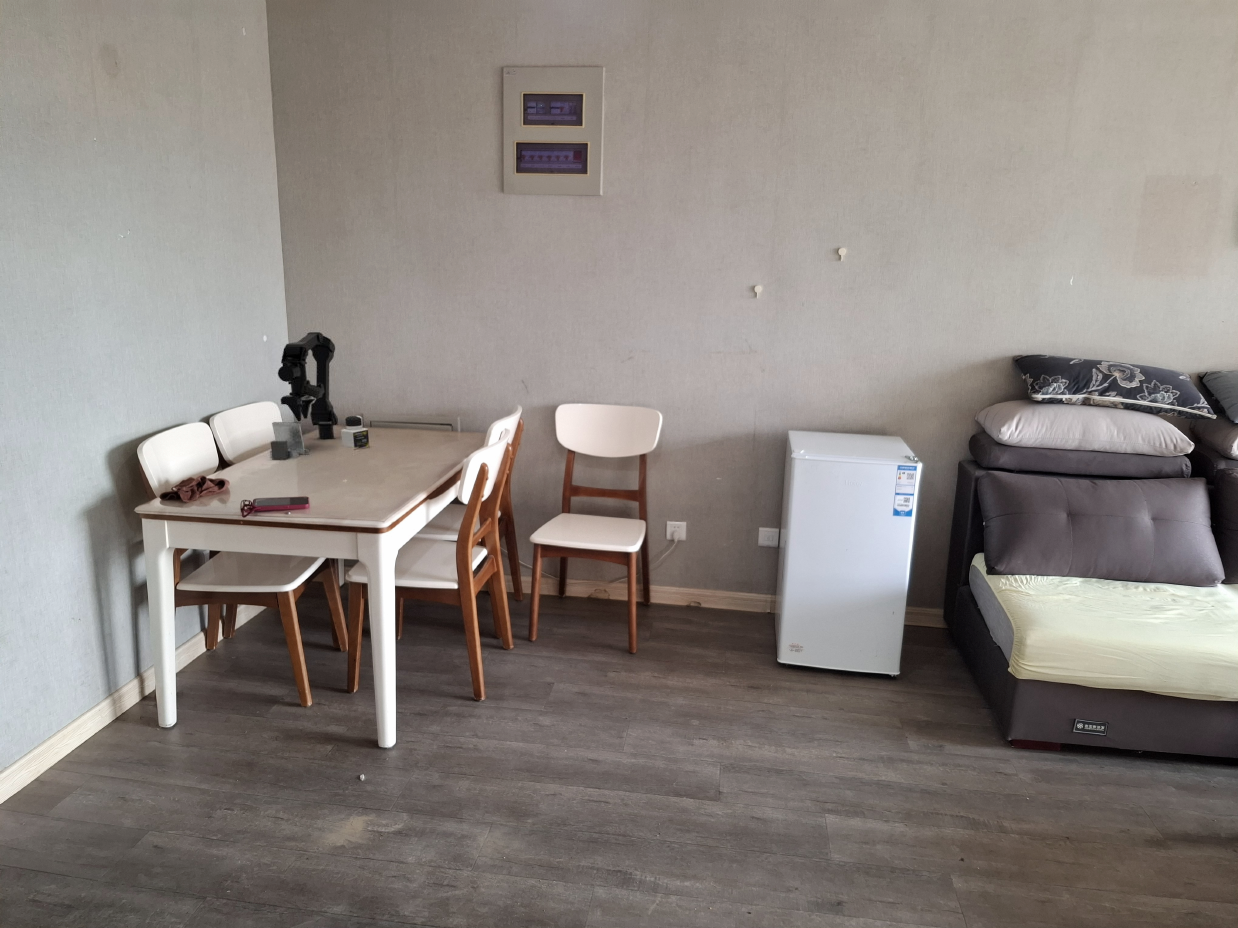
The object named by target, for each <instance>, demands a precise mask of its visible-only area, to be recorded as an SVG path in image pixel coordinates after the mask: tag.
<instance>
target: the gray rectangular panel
mask: <svg viewBox="0 0 1238 928" xmlns="http://www.w3.org/2000/svg"><path fill="white" fill-rule="evenodd" d="M271 425H272V430H273V435H274V441H287V447H288V449H298V455H305V452H304V450H306V448H305V444H304V438H303V434H302V428H301V421H273V422H271Z"/></svg>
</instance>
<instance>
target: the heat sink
mask: <svg viewBox="0 0 1238 928" xmlns="http://www.w3.org/2000/svg"><path fill="white" fill-rule="evenodd" d="M304 452H305V454H304V455H307V456H308V455H310V450H309V449H305V450H304ZM299 455H300V454H298V449H288V447H287V441H275V440H272V441H270V450H269V456H270V459H272V461H288V460H289V459H297V458H299Z"/></svg>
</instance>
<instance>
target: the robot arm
mask: <svg viewBox="0 0 1238 928" xmlns="http://www.w3.org/2000/svg"><path fill="white" fill-rule="evenodd" d="M309 351H311V354H312V357H313V359H314V361H315V363H316V371H315V372H316V376H315V378H316V384H311V381H310V380H309V379H308V377H307V375H308V374H307V364H308V363H307V358H308V356H309ZM335 352H336V345H335V343H334V342H333V340H332V339H331V338H329V337H327V336H325V335H324V334H323V333H322V332H319V331H310V332H307V334H306V335H305V336H303V337H302V338H300V340H297V341H296V342H295V341H294V342H289V343H286V344H285V346H284V348H283V351H282V354H281V355H282V356H281V359H280V360H281V362H280V364H282V366H280V368H278V372H277V376H278V378H279V379H280V381H282V382H286V383H288V385H290V389H291V392H288V393H289V394H287V395H283V396H282V397H281V398H280V405H286V406H287V407H288V408H289V410H290V411H291V412H292V414H293V415H294V417H295V418H296V421H297V422H302V418H303V419H304V420H307V419H308V417H309V416H310V419H311V423H312V426H317V429H318V431H317V432H318V437H317V438H316V439H317V440H326V441H327V440H337V438H336V437H335V433H334V432H335V431H334V426H336V425H337V426H338V423H339V418H338V416H337V415H336V413H335V410H334V405H333V404H332V402H331V401H330V364H331V362H332V361H333V359H334V358H335V356H334V355H335ZM309 411H310V414H309ZM308 415H309V416H308Z"/></svg>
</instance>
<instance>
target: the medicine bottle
mask: <svg viewBox="0 0 1238 928" xmlns="http://www.w3.org/2000/svg"><path fill="white" fill-rule="evenodd" d="M340 435H341V442H342V443H341V445H342V446H343V447H347V448H348V447H349V448H353V450H354V451H356V450H361V449H365V448H370V439H369V429H368V428H365V427H363V417H361V416H360V415H351V416H347V417H346V418H345V428H344V429H341V434H340Z"/></svg>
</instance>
